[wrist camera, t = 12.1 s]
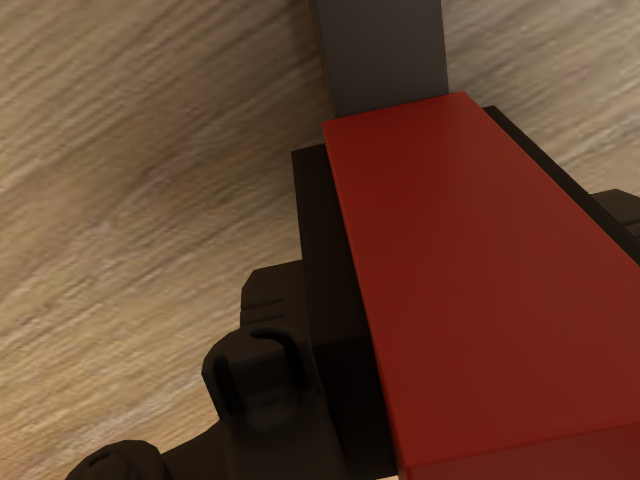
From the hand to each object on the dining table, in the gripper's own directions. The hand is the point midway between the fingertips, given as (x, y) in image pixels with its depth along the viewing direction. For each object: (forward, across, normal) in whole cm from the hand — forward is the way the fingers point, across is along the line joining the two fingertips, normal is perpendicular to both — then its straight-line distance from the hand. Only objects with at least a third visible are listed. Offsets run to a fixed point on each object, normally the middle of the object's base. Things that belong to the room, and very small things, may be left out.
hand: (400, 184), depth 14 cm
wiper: (+2, 0, 0) cm, 2 cm away
